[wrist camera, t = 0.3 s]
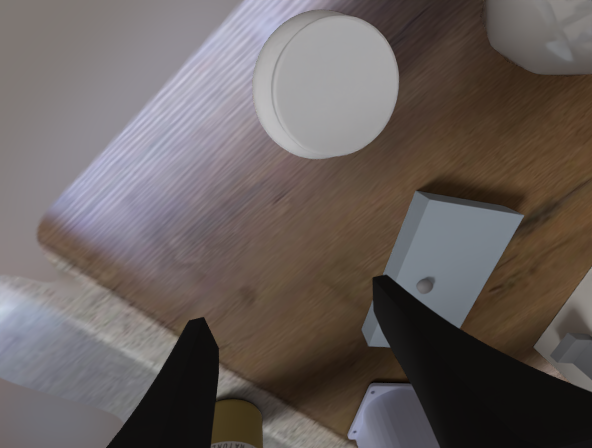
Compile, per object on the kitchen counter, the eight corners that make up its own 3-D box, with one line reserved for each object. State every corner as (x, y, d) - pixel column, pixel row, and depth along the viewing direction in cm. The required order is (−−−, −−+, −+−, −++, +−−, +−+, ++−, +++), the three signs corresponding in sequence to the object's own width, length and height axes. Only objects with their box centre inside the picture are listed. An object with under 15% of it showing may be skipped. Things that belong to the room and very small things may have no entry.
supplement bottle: (299, 14, 16) (349, -77, 7) (359, 90, 18) (456, 92, 9) (235, 90, 17) (212, 93, 8) (298, 153, 19) (333, 209, 10)
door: (432, 330, 29) (449, 353, 26) (359, 325, 27) (370, 349, 25) (499, 203, 23) (528, 217, 21) (412, 188, 22) (432, 201, 19)
